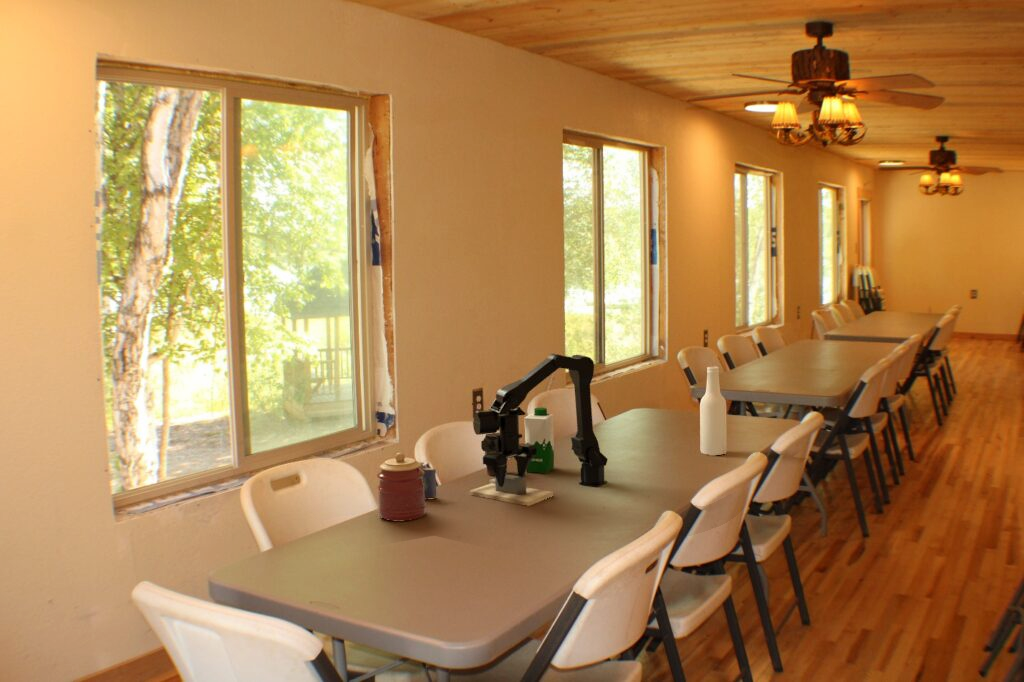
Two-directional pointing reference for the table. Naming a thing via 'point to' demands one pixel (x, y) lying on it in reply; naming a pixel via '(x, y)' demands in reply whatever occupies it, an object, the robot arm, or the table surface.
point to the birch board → (512, 495)
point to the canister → (401, 489)
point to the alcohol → (713, 416)
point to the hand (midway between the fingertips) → (510, 483)
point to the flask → (429, 481)
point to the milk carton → (540, 440)
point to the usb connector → (511, 485)
